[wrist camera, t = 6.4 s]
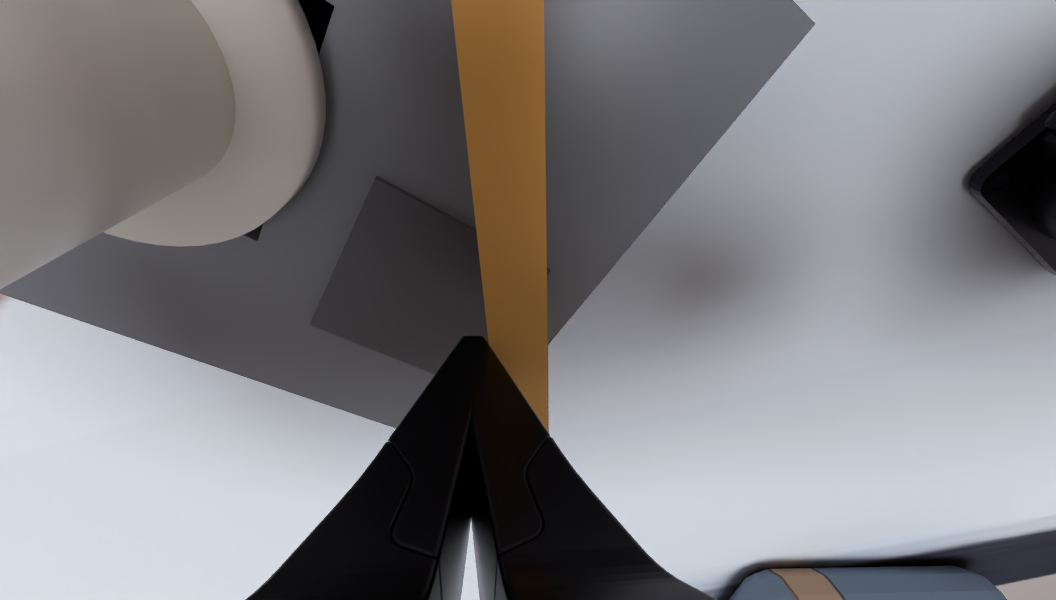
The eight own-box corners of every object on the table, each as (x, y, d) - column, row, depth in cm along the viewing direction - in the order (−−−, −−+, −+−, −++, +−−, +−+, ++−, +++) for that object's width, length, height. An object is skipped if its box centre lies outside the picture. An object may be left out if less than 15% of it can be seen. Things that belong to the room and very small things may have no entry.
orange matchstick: (319, -651, 4) (267, -843, 3) (597, -657, 4) (625, -843, 3) (479, 433, 12) (477, 465, 11) (567, 427, 12) (572, 459, 11)
